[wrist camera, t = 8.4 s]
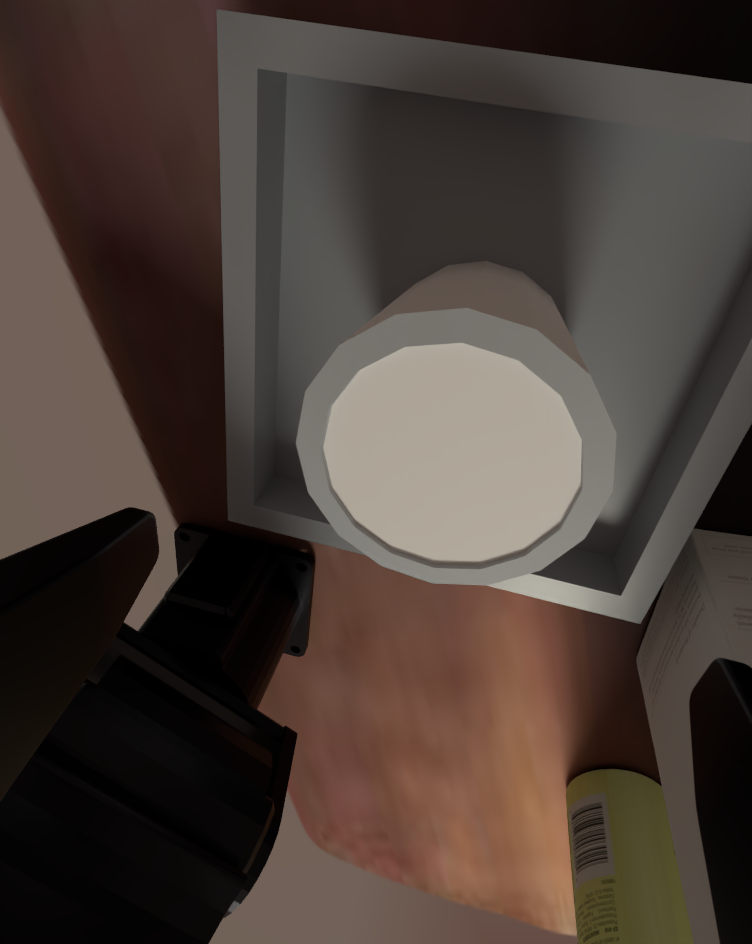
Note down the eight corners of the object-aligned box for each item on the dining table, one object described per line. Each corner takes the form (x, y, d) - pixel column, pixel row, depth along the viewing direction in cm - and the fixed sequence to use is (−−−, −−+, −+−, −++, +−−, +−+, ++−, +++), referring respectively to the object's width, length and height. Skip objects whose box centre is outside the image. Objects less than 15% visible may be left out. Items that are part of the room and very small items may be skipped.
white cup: (335, 279, 18) (242, 361, 12) (565, 202, 15) (585, 259, 10) (405, 466, 21) (357, 602, 15) (607, 426, 18) (641, 571, 13)
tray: (628, 566, 22) (640, 624, 20) (259, 477, 24) (227, 520, 22) (856, 108, 14) (926, 108, 11) (266, 24, 16) (216, 9, 13)
